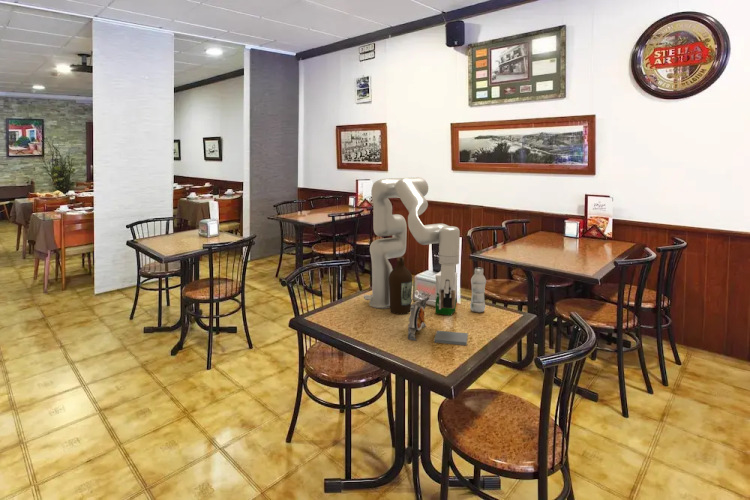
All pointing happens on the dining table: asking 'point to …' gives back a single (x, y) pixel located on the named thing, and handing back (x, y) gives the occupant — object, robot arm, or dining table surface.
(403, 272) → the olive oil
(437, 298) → the milk carton
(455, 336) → the slate board
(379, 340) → the dining table surface
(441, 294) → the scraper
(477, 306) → the plastic bottle
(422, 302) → the meal
